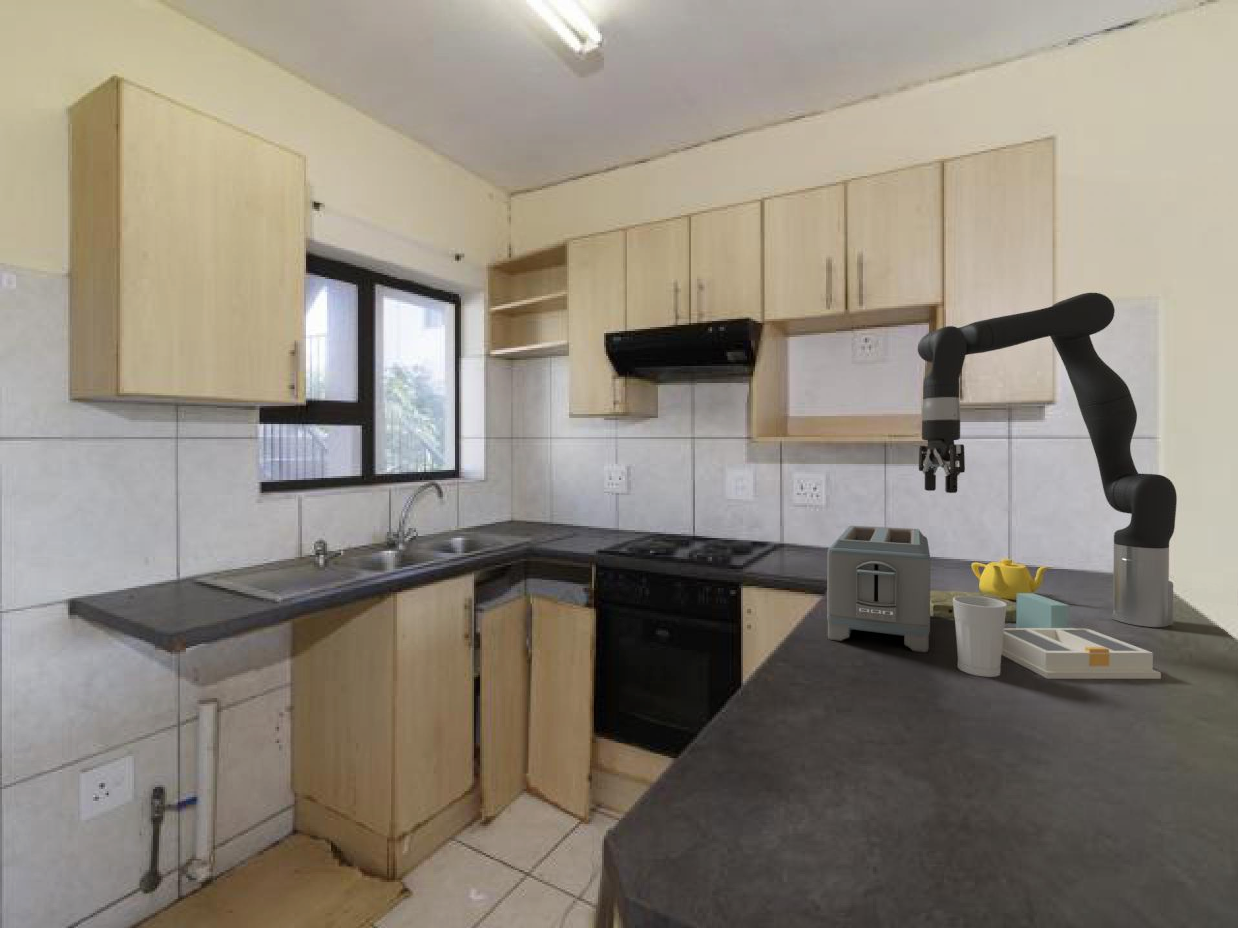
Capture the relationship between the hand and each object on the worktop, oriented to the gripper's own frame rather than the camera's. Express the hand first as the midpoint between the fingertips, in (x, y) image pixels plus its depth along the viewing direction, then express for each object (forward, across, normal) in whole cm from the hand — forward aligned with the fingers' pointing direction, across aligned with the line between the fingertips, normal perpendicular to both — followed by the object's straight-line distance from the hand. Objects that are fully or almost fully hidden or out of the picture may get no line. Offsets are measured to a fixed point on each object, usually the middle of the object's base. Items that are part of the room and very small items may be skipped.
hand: (940, 491), depth 130 cm
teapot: (+30, +23, -31) cm, 49 cm away
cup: (+30, -29, +9) cm, 42 cm away
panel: (+29, -11, -15) cm, 35 cm away
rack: (+29, -25, -10) cm, 40 cm away
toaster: (+30, -5, +16) cm, 34 cm away
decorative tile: (+30, +10, -12) cm, 34 cm away
